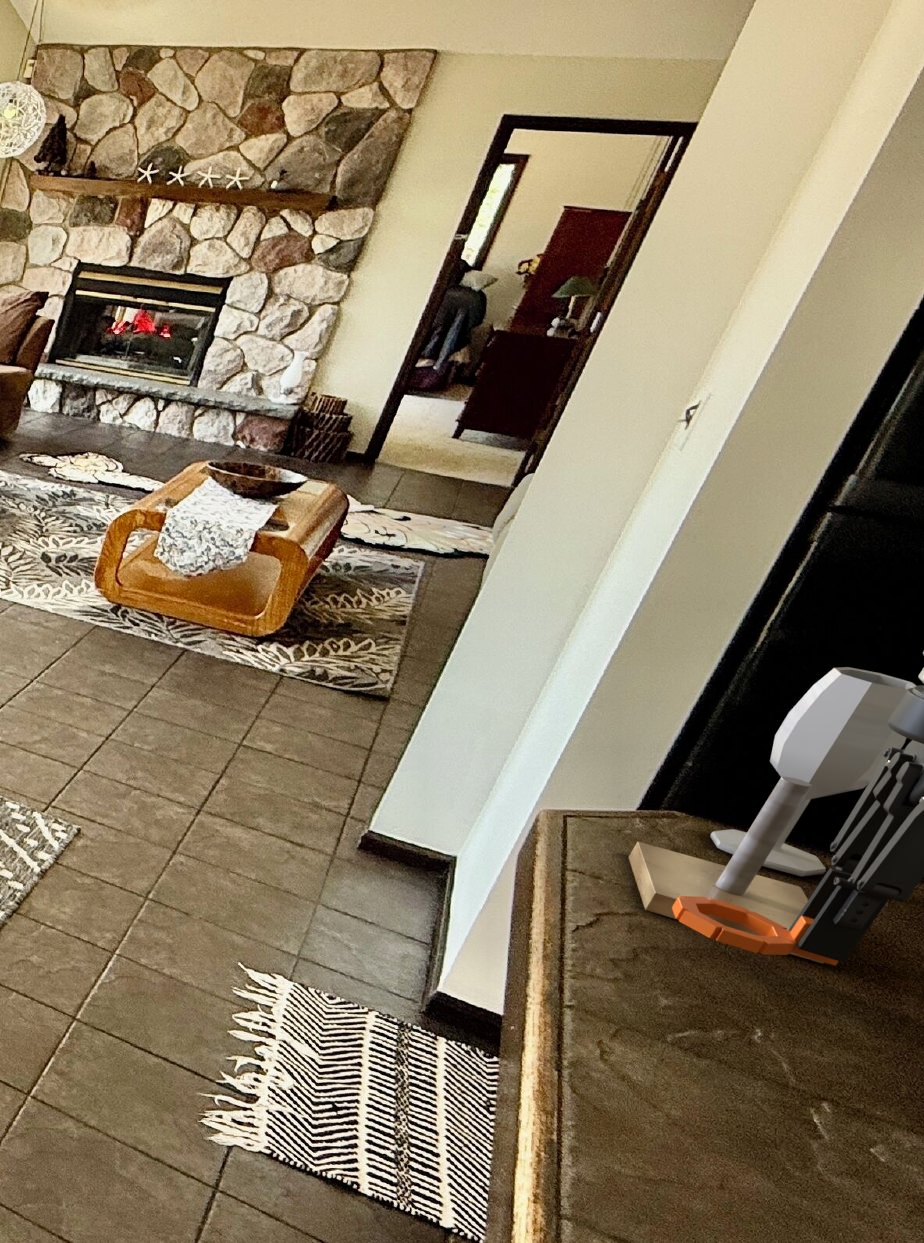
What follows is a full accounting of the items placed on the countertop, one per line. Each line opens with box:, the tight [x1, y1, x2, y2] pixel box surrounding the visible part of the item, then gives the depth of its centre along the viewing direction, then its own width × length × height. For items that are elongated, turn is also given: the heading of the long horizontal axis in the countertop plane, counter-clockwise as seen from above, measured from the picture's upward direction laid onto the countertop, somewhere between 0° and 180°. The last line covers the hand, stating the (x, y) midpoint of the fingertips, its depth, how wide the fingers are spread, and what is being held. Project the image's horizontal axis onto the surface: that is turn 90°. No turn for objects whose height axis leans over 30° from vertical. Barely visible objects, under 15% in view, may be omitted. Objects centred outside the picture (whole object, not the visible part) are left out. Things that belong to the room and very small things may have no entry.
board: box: [628, 776, 824, 965], centre depth 112 cm, size 12×14×14 cm
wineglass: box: [710, 666, 917, 877], centre depth 121 cm, size 9×9×21 cm
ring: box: [672, 896, 839, 966], centre depth 103 cm, size 10×7×3 cm
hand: (816, 945), depth 101 cm, fingers closed on ring, 3 cm apart
